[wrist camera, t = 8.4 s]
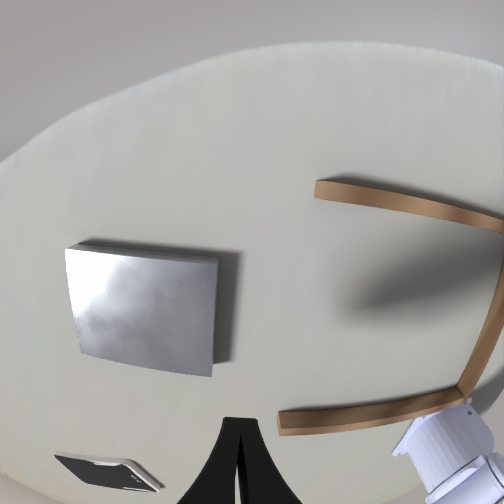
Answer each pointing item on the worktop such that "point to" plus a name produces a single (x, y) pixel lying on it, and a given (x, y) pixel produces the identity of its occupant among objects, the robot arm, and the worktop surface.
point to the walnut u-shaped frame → (397, 411)
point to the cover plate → (144, 307)
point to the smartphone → (108, 472)
